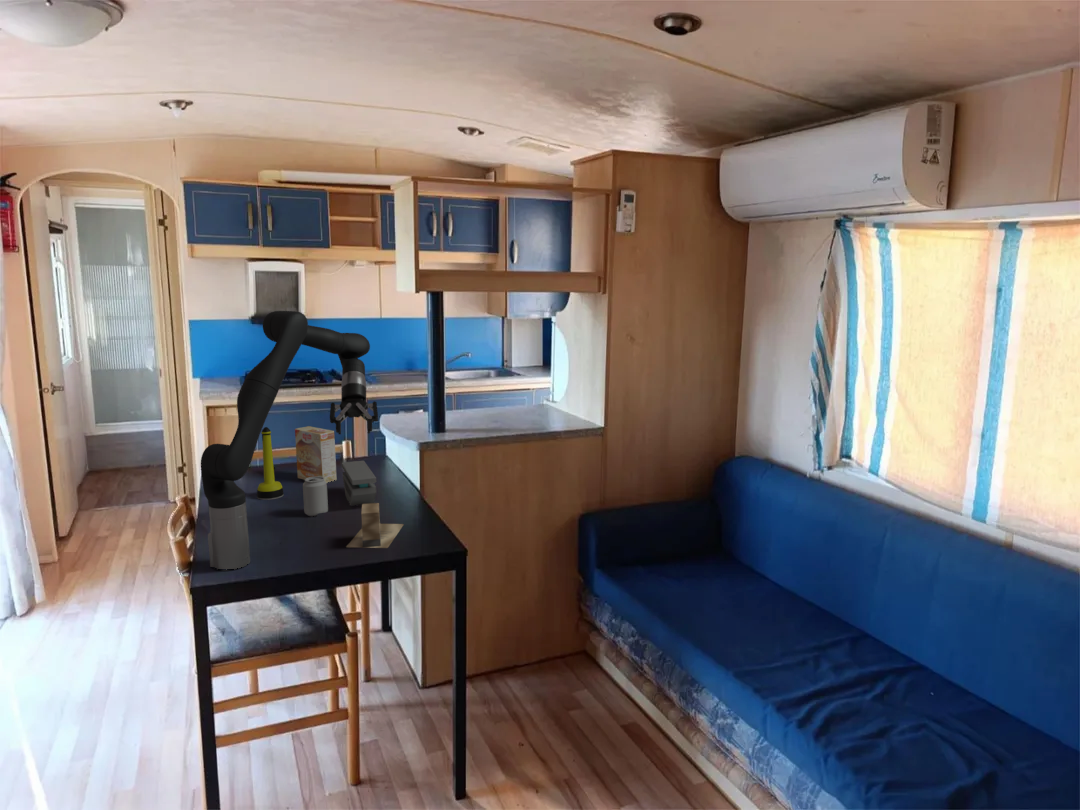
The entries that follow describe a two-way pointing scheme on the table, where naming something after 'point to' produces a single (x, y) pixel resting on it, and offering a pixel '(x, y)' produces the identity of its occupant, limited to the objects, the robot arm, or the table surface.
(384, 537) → the board
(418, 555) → the table surface
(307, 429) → the coffeecake box
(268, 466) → the flashlight
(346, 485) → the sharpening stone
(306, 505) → the can
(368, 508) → the block
